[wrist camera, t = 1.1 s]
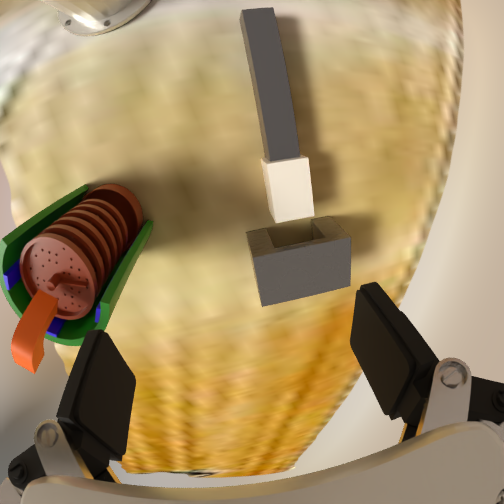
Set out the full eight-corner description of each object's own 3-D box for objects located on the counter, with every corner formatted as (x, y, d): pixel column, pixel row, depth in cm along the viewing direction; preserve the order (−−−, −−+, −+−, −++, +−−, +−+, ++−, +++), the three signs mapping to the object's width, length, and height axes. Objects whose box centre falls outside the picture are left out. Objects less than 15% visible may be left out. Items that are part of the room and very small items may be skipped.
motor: (159, 194, 29) (86, 312, 11) (145, 264, 32) (96, 405, 15) (79, 175, 26) (-45, 258, 9) (73, 244, 30) (-13, 357, 12)
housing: (246, 232, 32) (252, 257, 26) (329, 215, 32) (350, 237, 27) (254, 276, 35) (261, 306, 29) (331, 259, 35) (350, 285, 30)
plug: (234, 20, 21) (237, 6, 17) (272, 16, 21) (280, 3, 18) (269, 210, 31) (276, 223, 28) (303, 204, 31) (314, 215, 28)
